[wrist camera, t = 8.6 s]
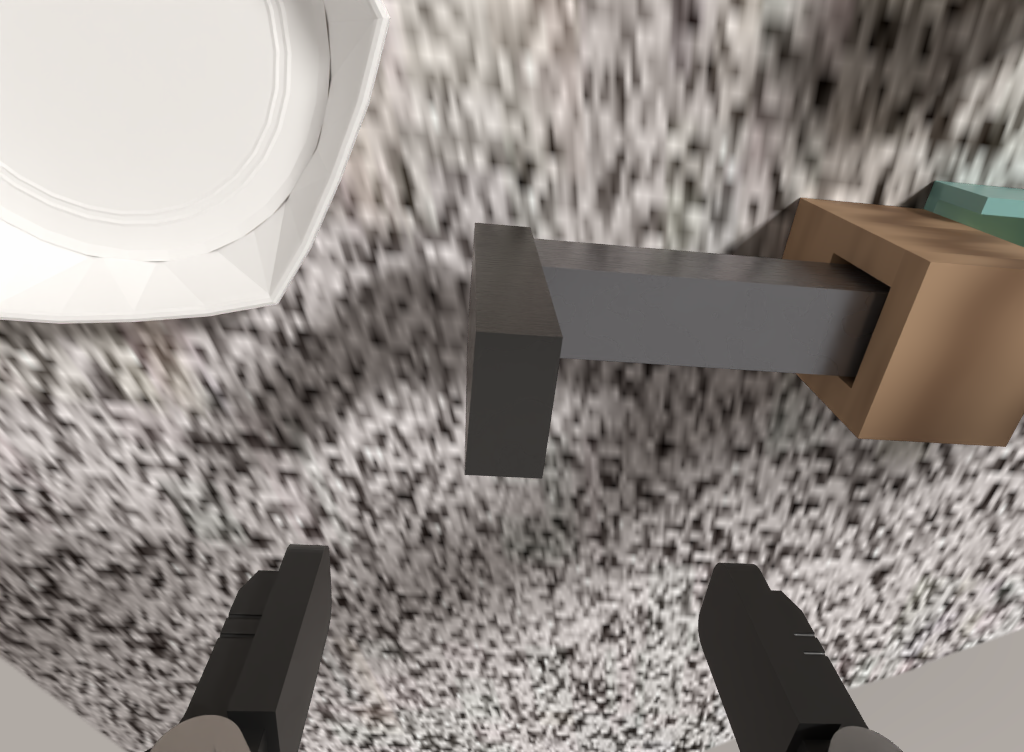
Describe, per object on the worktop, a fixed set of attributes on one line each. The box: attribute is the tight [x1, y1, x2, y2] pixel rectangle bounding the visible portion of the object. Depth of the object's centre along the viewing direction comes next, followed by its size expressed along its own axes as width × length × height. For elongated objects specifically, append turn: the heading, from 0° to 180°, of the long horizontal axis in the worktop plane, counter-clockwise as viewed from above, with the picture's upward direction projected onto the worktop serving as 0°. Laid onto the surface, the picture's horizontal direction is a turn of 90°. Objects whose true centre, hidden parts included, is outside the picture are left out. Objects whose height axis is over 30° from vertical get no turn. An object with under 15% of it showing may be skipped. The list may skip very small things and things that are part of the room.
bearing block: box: [782, 198, 1024, 447], centre depth 31 cm, size 7×8×11 cm
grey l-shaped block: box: [465, 223, 891, 478], centre depth 26 cm, size 21×5×12 cm, turn 84°
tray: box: [924, 181, 1024, 247], centre depth 35 cm, size 9×11×4 cm
